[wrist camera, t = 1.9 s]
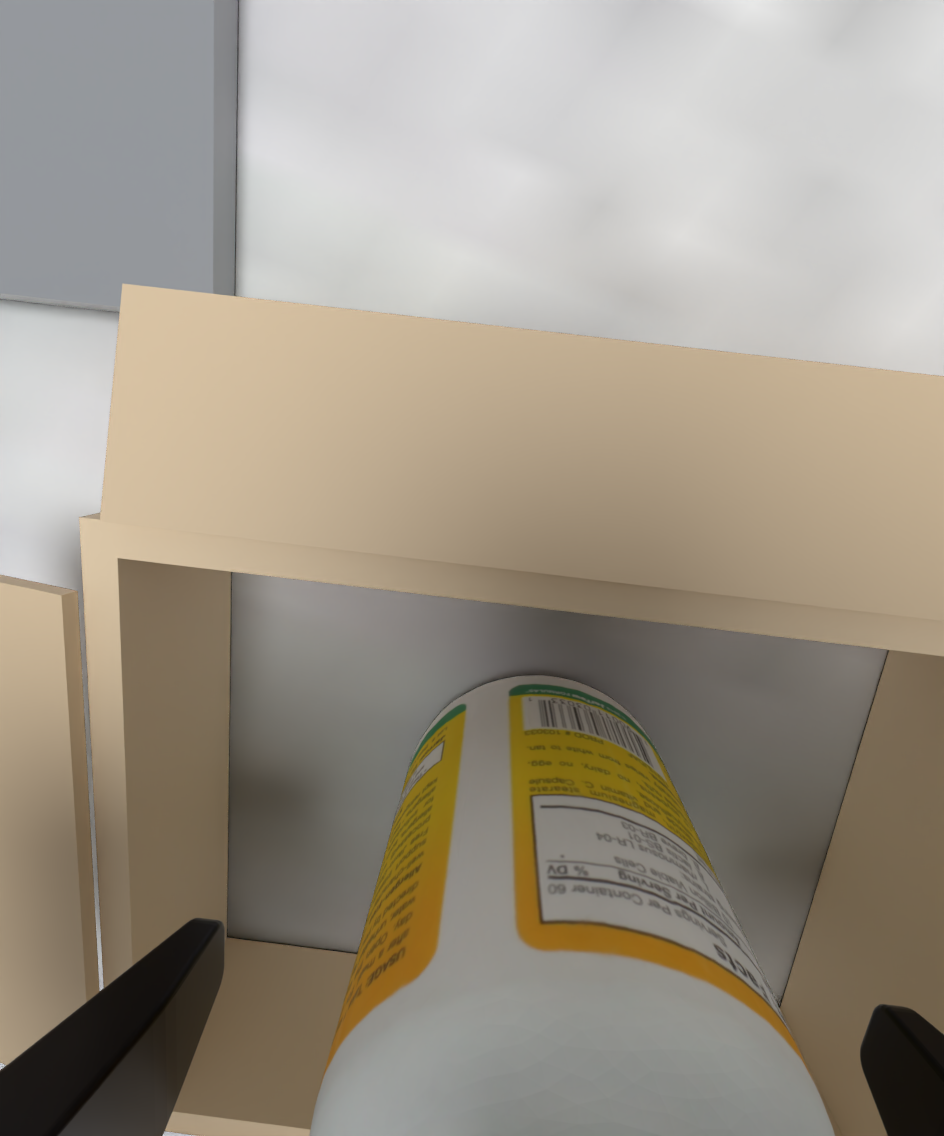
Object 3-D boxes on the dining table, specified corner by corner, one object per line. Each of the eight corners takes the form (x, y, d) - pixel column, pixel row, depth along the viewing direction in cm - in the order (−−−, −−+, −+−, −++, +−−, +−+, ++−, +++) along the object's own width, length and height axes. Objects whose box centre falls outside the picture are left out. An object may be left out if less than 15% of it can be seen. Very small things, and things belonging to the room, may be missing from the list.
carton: (888, 1136, 14) (1026, 1387, 11) (87, 1033, 15) (-53, 1241, 11) (1162, 431, 10) (1542, 434, 6) (42, 303, 10) (-208, 237, 7)
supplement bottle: (616, 633, 12) (1122, 1509, 2) (688, 853, 13) (1224, 2047, 3) (367, 713, 12) (-57, 1655, 3) (457, 915, 13) (363, 2066, 4)
